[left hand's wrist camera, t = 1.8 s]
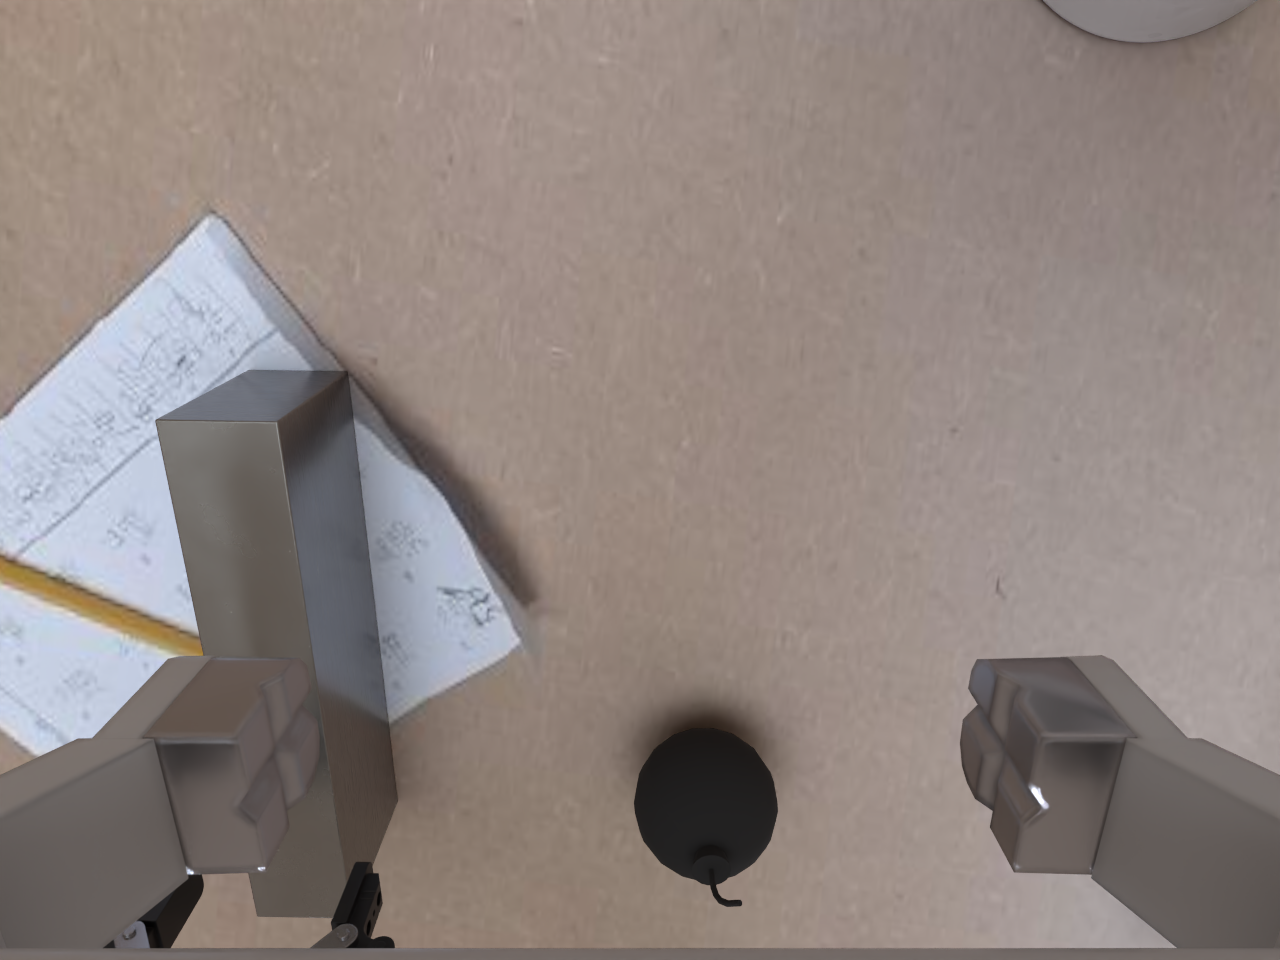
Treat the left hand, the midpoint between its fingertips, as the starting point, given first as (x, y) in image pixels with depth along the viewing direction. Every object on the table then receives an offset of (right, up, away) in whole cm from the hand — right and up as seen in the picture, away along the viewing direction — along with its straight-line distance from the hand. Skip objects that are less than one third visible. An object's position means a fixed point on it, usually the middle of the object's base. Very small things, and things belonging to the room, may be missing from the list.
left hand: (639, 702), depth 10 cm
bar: (-17, -5, +37) cm, 41 cm away
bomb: (+4, -14, +40) cm, 42 cm away
